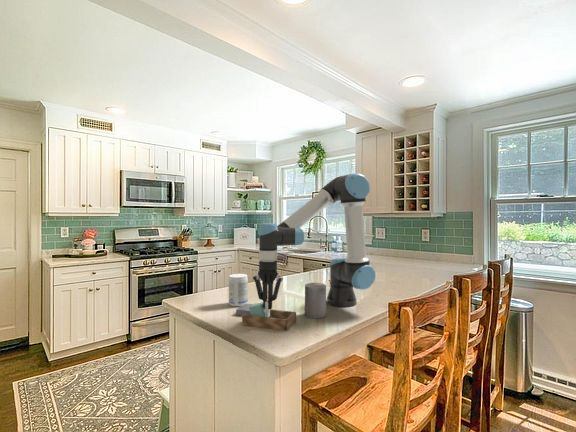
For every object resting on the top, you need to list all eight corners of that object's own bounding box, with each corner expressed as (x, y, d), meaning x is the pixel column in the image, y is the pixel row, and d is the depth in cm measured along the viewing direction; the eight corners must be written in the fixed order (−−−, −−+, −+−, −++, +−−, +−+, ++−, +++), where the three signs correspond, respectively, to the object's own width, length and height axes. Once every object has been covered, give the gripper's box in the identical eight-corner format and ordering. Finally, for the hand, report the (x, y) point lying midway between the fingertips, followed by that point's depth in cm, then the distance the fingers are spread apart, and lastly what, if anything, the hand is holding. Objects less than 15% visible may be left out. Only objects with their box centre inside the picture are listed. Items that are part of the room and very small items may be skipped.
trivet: (265, 310, 148) (265, 305, 148) (256, 317, 138) (256, 311, 138) (246, 308, 151) (246, 303, 151) (236, 314, 141) (236, 309, 141)
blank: (269, 318, 134) (265, 301, 135) (263, 322, 129) (259, 305, 129) (258, 319, 136) (255, 303, 136) (252, 324, 130) (249, 307, 131)
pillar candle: (304, 311, 147) (304, 279, 146) (325, 311, 146) (325, 279, 146) (305, 318, 137) (305, 284, 137) (327, 319, 137) (327, 284, 136)
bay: (296, 321, 133) (296, 311, 133) (287, 330, 122) (287, 320, 122) (253, 316, 139) (253, 307, 139) (242, 324, 129) (242, 315, 129)
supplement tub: (248, 301, 163) (248, 273, 163) (247, 307, 154) (247, 277, 154) (230, 301, 163) (230, 273, 163) (227, 307, 153) (227, 277, 153)
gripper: (285, 259, 133) (284, 315, 133) (257, 258, 137) (257, 312, 137) (279, 262, 125) (278, 321, 125) (250, 260, 129) (249, 317, 129)
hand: (267, 316), depth 131 cm, fingers closed
